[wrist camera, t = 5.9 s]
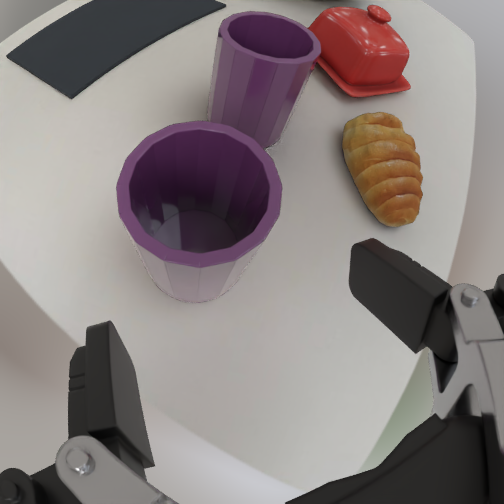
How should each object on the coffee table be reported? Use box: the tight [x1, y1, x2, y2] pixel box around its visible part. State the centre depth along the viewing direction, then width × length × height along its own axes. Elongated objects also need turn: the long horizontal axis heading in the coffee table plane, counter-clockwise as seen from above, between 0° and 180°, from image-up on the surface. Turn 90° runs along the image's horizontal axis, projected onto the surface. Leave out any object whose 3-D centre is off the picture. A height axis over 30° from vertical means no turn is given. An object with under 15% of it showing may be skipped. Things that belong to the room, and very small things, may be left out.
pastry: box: [342, 112, 423, 227], centre depth 22 cm, size 9×7×4 cm
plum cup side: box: [207, 11, 321, 148], centre depth 19 cm, size 6×6×8 cm
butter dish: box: [307, 5, 411, 97], centre depth 25 cm, size 12×12×8 cm
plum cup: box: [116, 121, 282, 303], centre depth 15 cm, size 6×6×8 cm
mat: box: [6, 0, 226, 99], centre depth 25 cm, size 22×16×1 cm
